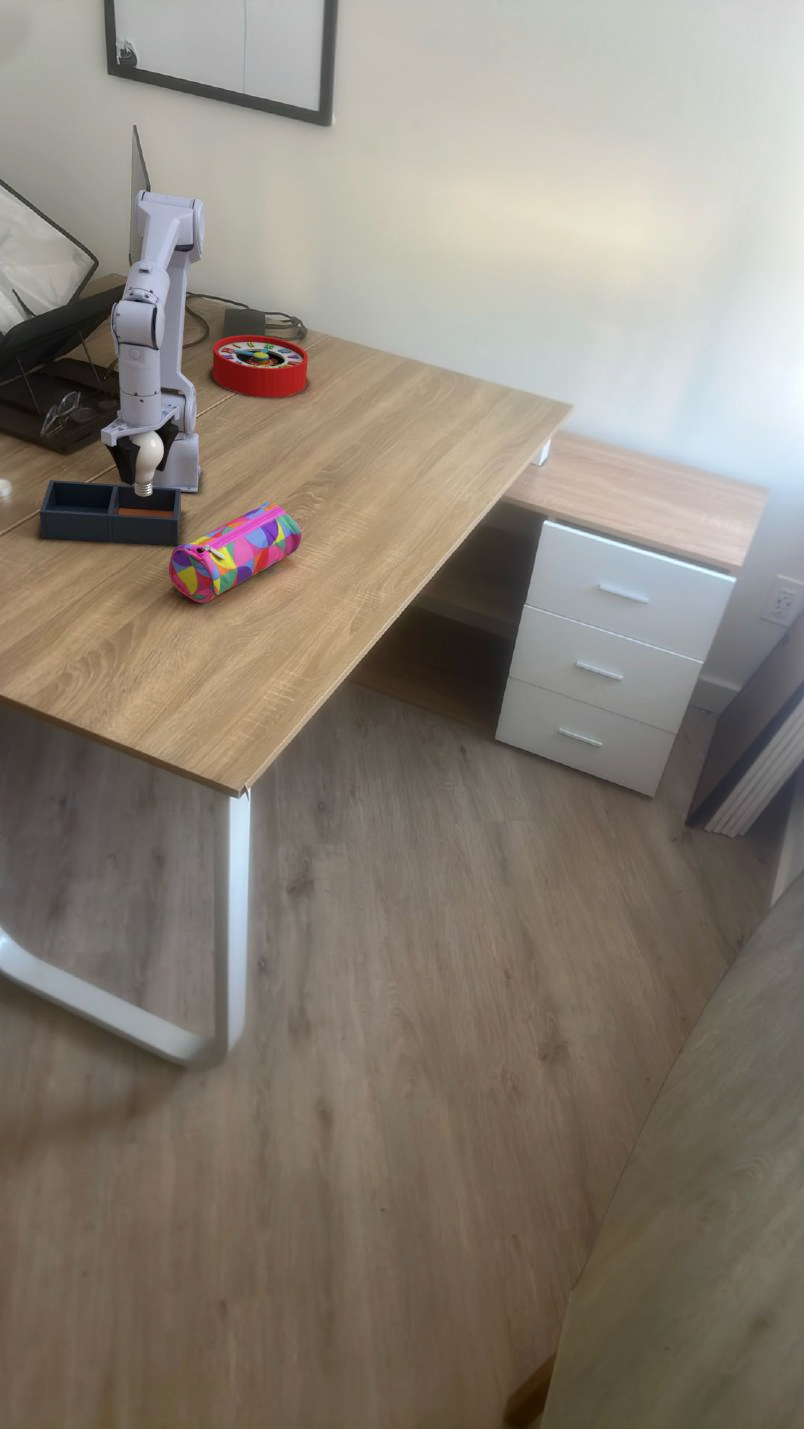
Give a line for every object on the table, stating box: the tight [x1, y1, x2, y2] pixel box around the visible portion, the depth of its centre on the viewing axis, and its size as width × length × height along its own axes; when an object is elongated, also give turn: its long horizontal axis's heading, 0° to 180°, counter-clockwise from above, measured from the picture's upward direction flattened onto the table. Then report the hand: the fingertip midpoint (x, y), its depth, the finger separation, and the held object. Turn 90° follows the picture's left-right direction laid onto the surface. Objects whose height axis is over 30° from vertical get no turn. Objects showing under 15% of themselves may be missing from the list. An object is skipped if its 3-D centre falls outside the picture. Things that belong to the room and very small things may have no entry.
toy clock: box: [212, 334, 309, 398], centre depth 203 cm, size 20×6×20 cm
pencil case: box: [168, 501, 302, 604], centre depth 140 cm, size 22×9×9 cm, turn 148°
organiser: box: [39, 479, 182, 547], centre depth 148 cm, size 20×10×4 cm, turn 98°
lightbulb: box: [130, 431, 164, 497], centre depth 144 cm, size 6×6×11 cm
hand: (143, 475), depth 145 cm, fingers closed on lightbulb, 6 cm apart
